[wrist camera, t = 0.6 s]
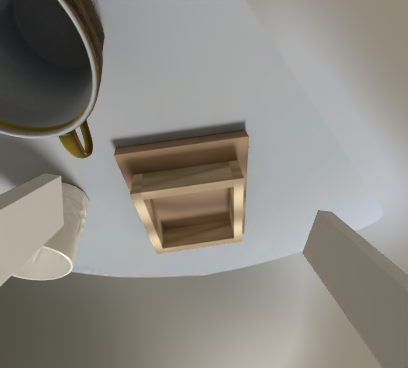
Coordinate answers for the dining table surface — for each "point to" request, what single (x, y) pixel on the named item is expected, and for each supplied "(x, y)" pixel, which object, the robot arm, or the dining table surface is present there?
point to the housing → (189, 189)
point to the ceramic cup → (49, 70)
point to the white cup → (59, 240)
